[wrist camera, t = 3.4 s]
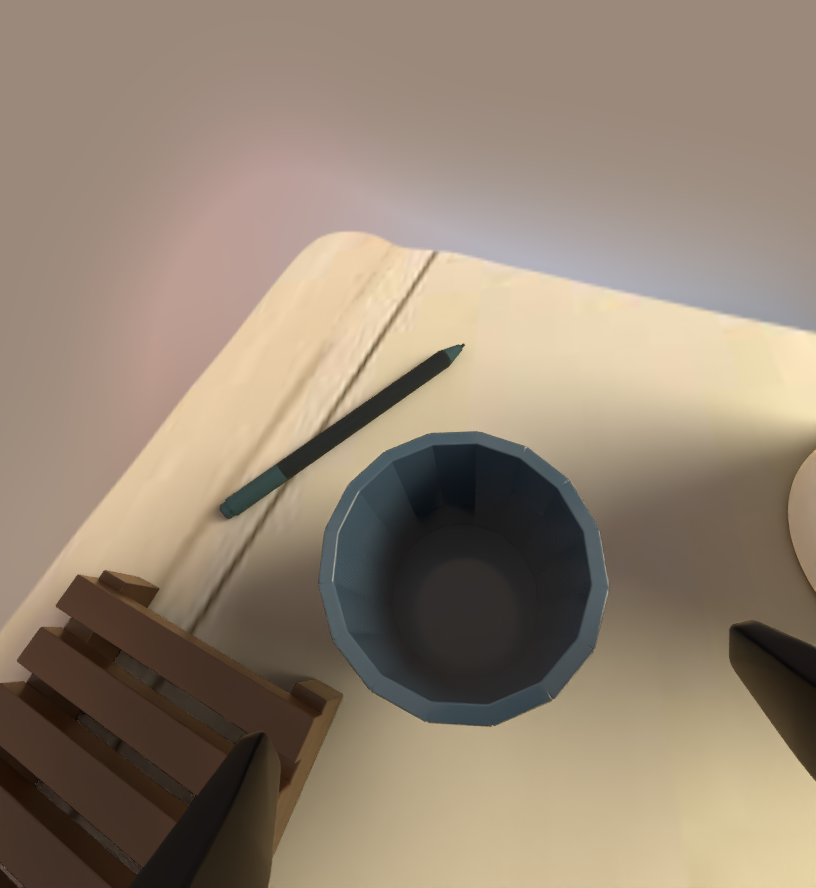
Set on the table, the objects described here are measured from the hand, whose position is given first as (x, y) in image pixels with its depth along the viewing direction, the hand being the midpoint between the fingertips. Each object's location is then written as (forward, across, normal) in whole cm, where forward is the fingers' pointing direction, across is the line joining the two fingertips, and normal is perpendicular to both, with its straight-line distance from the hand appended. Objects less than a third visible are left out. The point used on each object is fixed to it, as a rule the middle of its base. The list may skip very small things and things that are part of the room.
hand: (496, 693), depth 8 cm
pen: (+16, +4, -2) cm, 17 cm away
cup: (+9, 0, +5) cm, 10 cm away
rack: (+6, +14, +8) cm, 17 cm away
